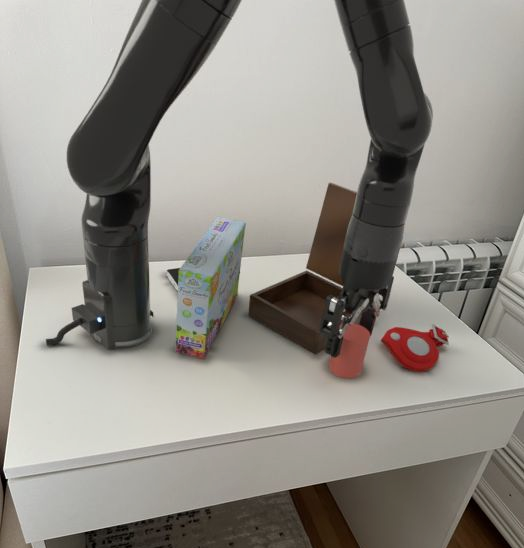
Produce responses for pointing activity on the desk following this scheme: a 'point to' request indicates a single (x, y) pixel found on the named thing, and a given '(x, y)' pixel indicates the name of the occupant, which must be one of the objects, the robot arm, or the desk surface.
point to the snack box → (208, 286)
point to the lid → (331, 232)
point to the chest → (296, 309)
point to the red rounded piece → (415, 346)
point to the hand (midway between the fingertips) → (348, 344)
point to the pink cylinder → (351, 352)
